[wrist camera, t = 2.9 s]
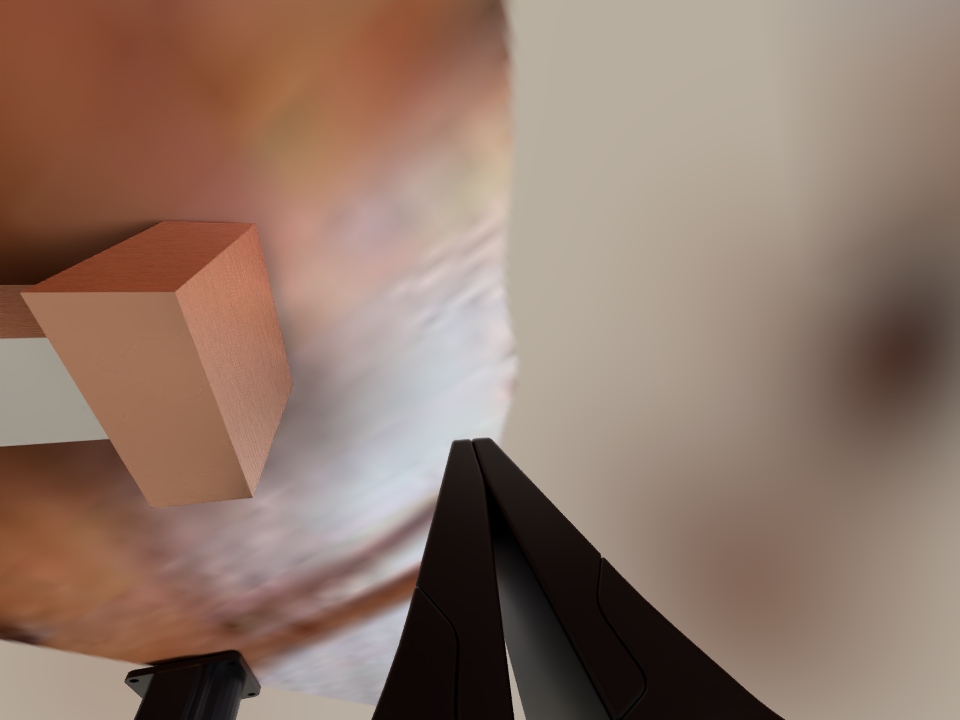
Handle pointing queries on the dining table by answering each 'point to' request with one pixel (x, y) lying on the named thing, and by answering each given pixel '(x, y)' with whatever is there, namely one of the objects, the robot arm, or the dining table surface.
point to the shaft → (153, 360)
